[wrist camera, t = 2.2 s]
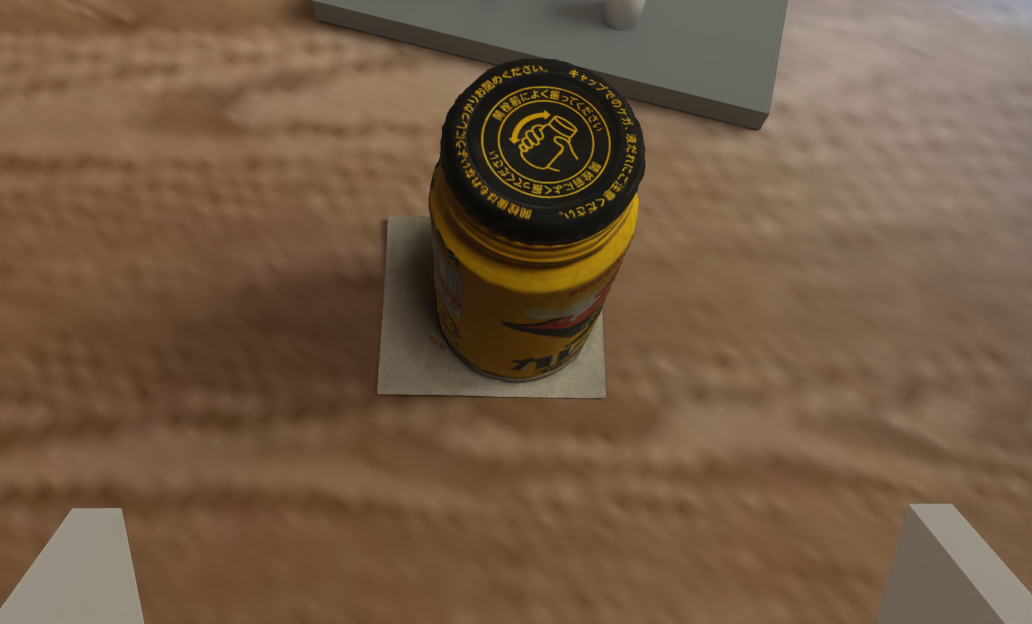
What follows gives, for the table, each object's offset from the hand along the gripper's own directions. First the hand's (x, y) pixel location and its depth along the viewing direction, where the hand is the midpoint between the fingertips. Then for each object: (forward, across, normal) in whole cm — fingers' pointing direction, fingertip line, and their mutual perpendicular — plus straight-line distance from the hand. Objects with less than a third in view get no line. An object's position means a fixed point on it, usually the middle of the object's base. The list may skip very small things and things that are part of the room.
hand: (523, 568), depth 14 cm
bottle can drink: (+18, 0, -3) cm, 18 cm away
